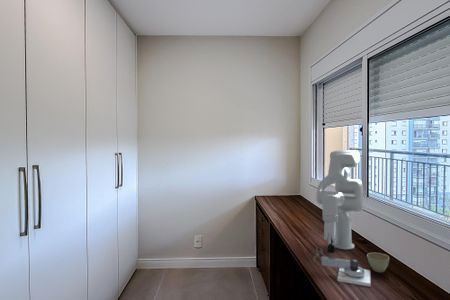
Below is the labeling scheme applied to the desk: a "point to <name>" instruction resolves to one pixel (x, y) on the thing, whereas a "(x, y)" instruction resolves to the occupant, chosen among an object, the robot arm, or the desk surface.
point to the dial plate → (360, 281)
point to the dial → (345, 266)
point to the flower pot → (378, 261)
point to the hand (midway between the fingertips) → (331, 252)
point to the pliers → (319, 253)
